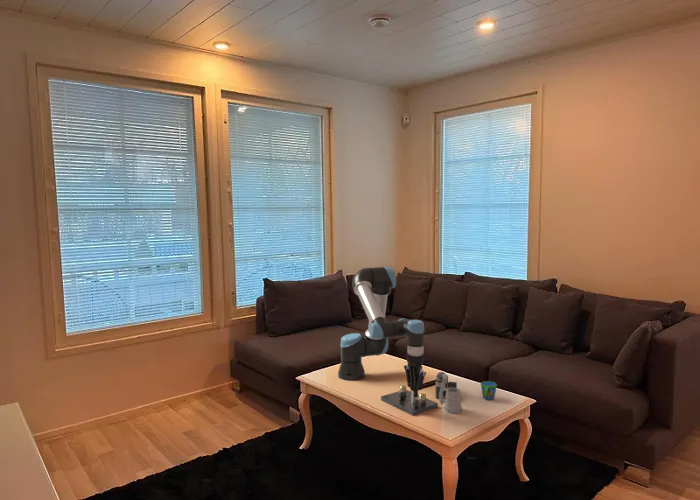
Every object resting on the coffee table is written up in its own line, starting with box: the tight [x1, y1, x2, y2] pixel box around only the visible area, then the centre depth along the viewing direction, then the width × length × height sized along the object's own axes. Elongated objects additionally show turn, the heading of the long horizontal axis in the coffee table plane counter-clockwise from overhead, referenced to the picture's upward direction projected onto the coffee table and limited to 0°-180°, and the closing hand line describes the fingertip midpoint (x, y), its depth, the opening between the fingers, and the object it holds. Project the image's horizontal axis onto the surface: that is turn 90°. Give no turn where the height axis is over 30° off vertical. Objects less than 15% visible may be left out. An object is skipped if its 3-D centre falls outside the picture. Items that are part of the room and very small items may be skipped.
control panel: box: [380, 389, 439, 416], centre depth 242 cm, size 23×16×4 cm
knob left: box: [399, 384, 407, 400], centre depth 245 cm, size 3×10×4 cm, turn 169°
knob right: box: [413, 393, 427, 409], centre depth 234 cm, size 3×10×4 cm, turn 146°
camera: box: [434, 371, 458, 400], centre depth 253 cm, size 16×10×10 cm, turn 164°
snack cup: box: [480, 380, 498, 401], centre depth 247 cm, size 11×8×7 cm
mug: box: [438, 382, 463, 414], centre depth 234 cm, size 8×12×12 cm, turn 43°
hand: (414, 403), depth 233 cm, fingers closed
